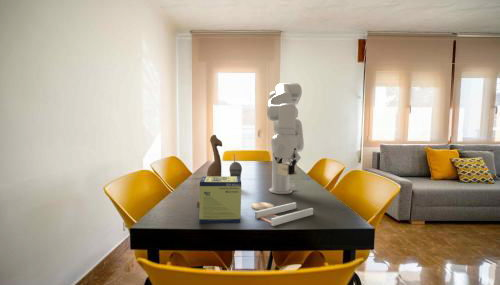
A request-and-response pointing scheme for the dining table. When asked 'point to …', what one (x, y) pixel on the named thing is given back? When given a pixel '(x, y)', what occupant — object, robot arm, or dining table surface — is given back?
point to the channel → (284, 217)
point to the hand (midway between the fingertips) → (285, 172)
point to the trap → (268, 217)
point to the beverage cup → (235, 169)
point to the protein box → (220, 200)
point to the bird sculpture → (215, 167)
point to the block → (285, 169)
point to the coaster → (261, 206)
